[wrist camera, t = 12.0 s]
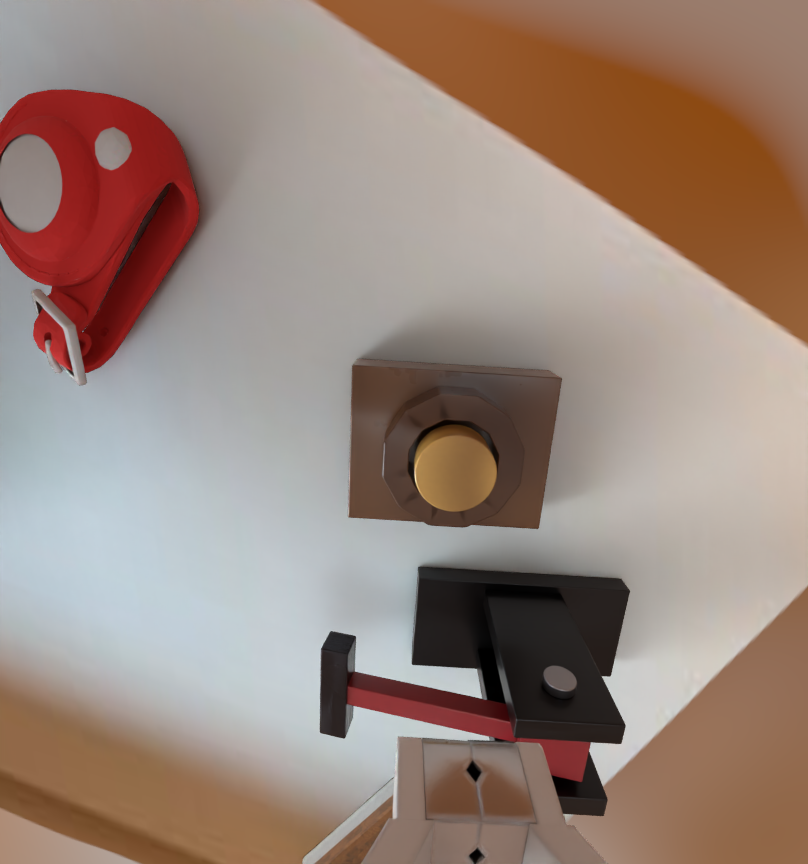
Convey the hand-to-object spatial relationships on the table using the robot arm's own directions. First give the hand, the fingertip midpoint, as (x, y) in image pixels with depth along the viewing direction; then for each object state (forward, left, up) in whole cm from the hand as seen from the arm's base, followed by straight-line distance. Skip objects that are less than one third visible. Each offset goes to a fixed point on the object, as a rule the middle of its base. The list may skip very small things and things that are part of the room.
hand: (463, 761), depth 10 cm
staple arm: (+1, -9, -11) cm, 15 cm away
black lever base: (+6, -9, -17) cm, 20 cm away
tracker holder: (-17, +11, -18) cm, 27 cm away
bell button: (+1, +2, -14) cm, 14 cm away
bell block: (+1, +2, -17) cm, 17 cm away
